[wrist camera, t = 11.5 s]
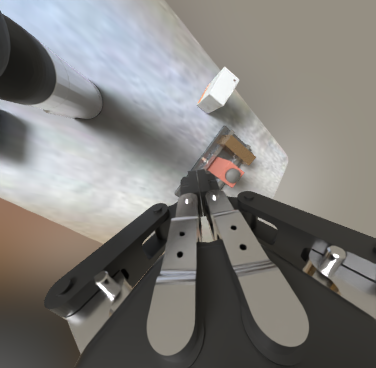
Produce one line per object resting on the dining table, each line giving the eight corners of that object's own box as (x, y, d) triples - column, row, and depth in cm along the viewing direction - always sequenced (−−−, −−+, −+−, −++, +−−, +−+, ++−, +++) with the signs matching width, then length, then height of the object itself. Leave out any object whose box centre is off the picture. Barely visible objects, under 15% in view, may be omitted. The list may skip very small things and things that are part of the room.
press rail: (201, 209, 51) (208, 221, 44) (174, 192, 48) (176, 202, 41) (248, 149, 48) (264, 151, 41) (223, 126, 44) (235, 124, 37)
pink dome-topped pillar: (217, 177, 47) (234, 189, 36) (206, 169, 45) (220, 179, 35) (227, 165, 46) (247, 173, 36) (216, 156, 45) (233, 162, 34)
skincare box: (207, 85, 40) (225, 64, 28) (219, 95, 41) (240, 79, 30) (195, 105, 41) (208, 93, 29) (207, 114, 42) (224, 106, 31)
